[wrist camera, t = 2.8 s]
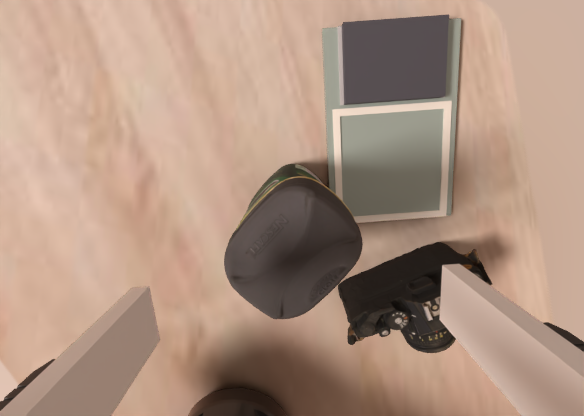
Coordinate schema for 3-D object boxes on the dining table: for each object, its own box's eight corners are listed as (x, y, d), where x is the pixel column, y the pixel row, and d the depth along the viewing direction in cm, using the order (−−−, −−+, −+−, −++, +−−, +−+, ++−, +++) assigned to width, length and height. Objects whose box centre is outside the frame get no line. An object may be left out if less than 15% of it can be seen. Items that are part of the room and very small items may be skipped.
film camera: (379, 353, 41) (408, 419, 31) (322, 296, 39) (335, 347, 29) (483, 275, 38) (549, 320, 29) (428, 209, 36) (480, 233, 26)
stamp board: (330, 223, 36) (331, 224, 35) (322, 30, 31) (322, 27, 31) (448, 214, 36) (451, 215, 35) (457, 20, 31) (462, 17, 31)
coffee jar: (287, 250, 37) (288, 352, 19) (240, 210, 36) (192, 279, 18) (339, 195, 35) (394, 248, 17) (291, 151, 34) (297, 160, 16)
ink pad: (340, 105, 33) (342, 103, 31) (337, 27, 31) (339, 22, 30) (443, 97, 33) (448, 95, 31) (446, 19, 31) (452, 14, 30)
